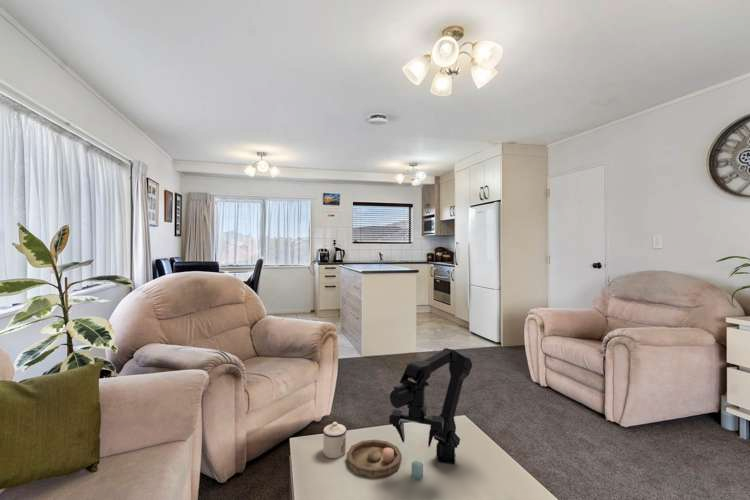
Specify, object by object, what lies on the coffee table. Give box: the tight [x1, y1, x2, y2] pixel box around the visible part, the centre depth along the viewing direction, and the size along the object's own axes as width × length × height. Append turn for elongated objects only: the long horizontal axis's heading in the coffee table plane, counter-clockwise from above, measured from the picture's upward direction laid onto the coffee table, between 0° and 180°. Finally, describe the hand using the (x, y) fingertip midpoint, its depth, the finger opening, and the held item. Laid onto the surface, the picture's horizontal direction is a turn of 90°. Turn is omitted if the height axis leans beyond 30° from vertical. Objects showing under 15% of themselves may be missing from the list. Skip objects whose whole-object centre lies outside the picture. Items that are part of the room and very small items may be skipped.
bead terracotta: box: [383, 448, 394, 465], centre depth 131 cm, size 4×4×4 cm
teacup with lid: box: [322, 421, 347, 459], centre depth 140 cm, size 12×9×12 cm
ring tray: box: [346, 439, 403, 479], centre depth 133 cm, size 20×20×3 cm
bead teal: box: [410, 460, 424, 480], centre depth 124 cm, size 4×4×4 cm
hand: (416, 444), depth 125 cm, fingers open, 9 cm apart
